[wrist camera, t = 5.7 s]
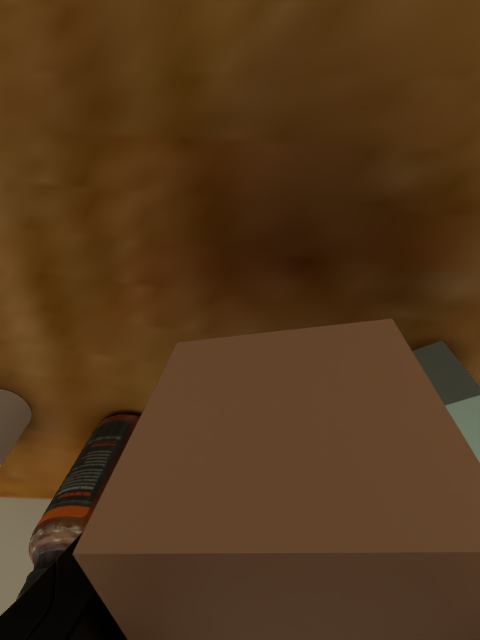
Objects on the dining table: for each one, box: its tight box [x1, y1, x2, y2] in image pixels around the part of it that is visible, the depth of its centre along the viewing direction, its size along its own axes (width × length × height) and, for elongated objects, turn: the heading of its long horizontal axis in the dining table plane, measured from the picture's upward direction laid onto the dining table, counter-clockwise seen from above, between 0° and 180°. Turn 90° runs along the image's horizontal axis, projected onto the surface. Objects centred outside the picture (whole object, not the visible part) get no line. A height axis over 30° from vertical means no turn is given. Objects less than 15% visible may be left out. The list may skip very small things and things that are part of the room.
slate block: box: [412, 340, 480, 462], centre depth 21 cm, size 5×5×5 cm
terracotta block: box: [73, 319, 480, 640], centre depth 7 cm, size 5×5×5 cm
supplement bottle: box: [16, 414, 140, 600], centre depth 22 cm, size 6×6×11 cm
